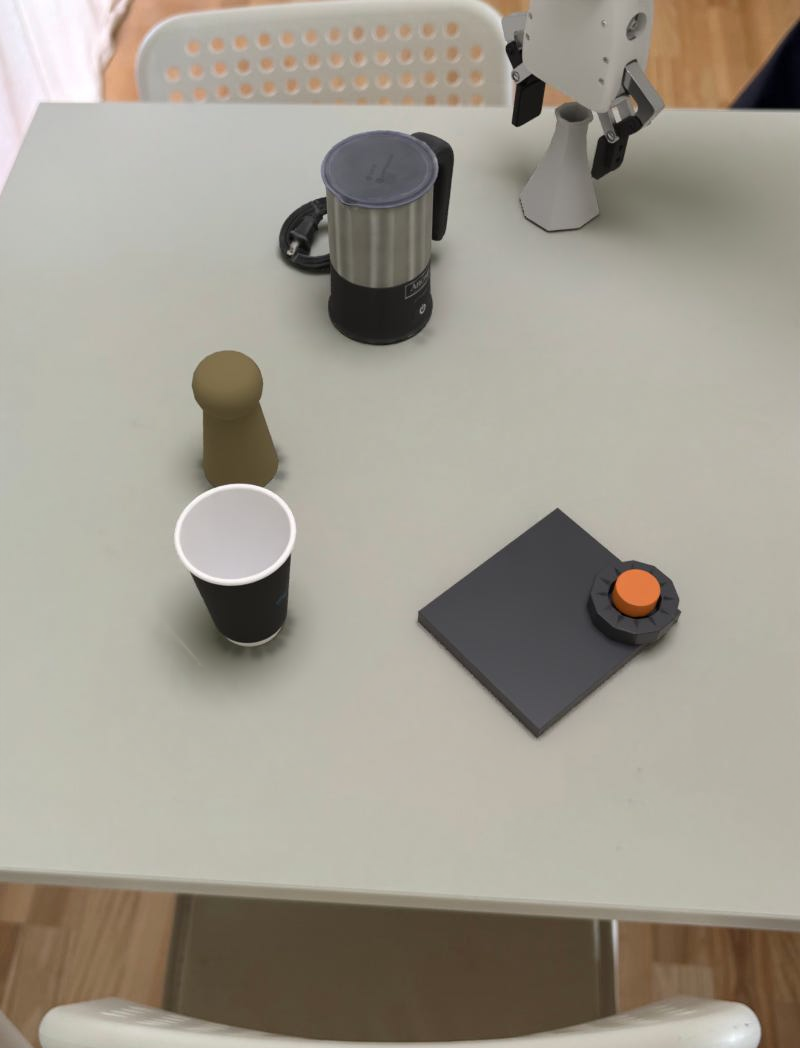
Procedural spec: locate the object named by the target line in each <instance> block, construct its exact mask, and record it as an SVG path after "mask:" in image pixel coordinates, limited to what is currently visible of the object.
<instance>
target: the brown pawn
mask: <svg viewBox="0 0 800 1048" xmlns="http://www.w3.org/2000/svg"><path fill="white" fill-rule="evenodd" d="M191 379H192V381H191V390H192V394H193V397H194V400H195V402H196V403H197V405H198V406H199V407H200V409H201V410H202V462H203V464H202V465H203V466H202V467H203V472H204V477H205V478H206V479H207V480H208V482H209V483H210V485H211V486H213V487H214V488H216V487H219V486H223V485H229V484H250V485H255V486H259V487H262V488H264V487H265V486H267V485H268V484H269V483H270V481H272V480H273V479H274V477H275V475H276V473H277V472H278V469H279V456H278V452H277V450H276V447H275V444H274V441H273V438H272V435H271V431H270V429H269V426H268V423H267V420H266V417H265V415H264V411H263V409H262V406H261V402H260V400H261V398H262V395H263V391H264V377H263V374H262V371H261V369H260V367H259V365H258V364H257V363H256V361H255V360H254V359H253V358H251V357H250V356H248V355H247V354H245V353H243V352H241V351H238V350H232V349H231V350H230V349H229V350H228V349H226V350H225V349H224V350H219V351H215V352H213V353H211V354H208V355H206V356H205V357H204V358H203V359H202V360H201V361H200V362H199V363H198V364H197V366H196V367H195V369H194V371H193V373H192V378H191Z"/></svg>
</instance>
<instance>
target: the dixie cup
mask: <svg viewBox="0 0 800 1048" xmlns="http://www.w3.org/2000/svg"><path fill="white" fill-rule="evenodd" d="M174 528H175V529H174V531H173V532H174V534H173V545H174V549H175V553H176V555H177V557H178V559H179V561H180V562H181V564H182V565H183V566H184V567H185V569H186V570H188V571H189V573H190V575H191V578H192V580H193V582H194V584H195V586H196V588H197V590H198V592H199V594H200V596H201V598H202V600H203V603H204V605H205V607H206V609H207V611H208V613H209V616H210V618H211V620H212V622H213V624H214V626H215V627H216V629H217V630H218V632H219V633H220V634H221V635H222V636H224V637H225V638H226V639H227V640H228V641H230V642H231V643H233V644H235V645H238V646H242V647H256V646H260V645H263V644H266V643H267V642H269V641H271V640H272V639H274V638H275V637H276V636H277V635H278V633H280V631H281V629H282V627H283V625H284V623H285V621H286V619H287V616H288V608H289V607H288V606H289V593H290V592H289V591H290V577H291V564H292V563H291V561H292V552H293V549H294V547H295V544H296V541H297V523H296V518H295V516H294V514H293V512H292V510H291V507H290V506H288V504H287V502H286V501H285V500H283V499H282V498H281V497H280V496H279V495H278V494H276V493H275V492H273V491H271V490H270V489H267V488H265V487H259V486H255V485H250V484H229V485H223V486H219V487H213V488H211V489H207V490H206V491H205V492H202V493H201V494H200V495H198V496H196V497H195V498H193V499H192V501H190V502H189V503H188V504H187V505H186V507H184V509H183V510H182V512H181V514H180V515H179V517H178V518H177V521H176V524H175V527H174Z"/></svg>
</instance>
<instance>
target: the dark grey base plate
mask: <svg viewBox="0 0 800 1048" xmlns="http://www.w3.org/2000/svg"><path fill="white" fill-rule="evenodd" d="M633 569H638V570H643V571H646V572H648V573H650V574H651V575H653V576H654V577H655V578H656V580H657V581H658V583H659V585H660V596H659V598H658V601H657V603H656V606H655V608H654V609H653V611H652V612H651V613H649V614H647V615H645V616H642V617H631V616H628V615H625V614H623V613H622V612H620V611H619V610H618V609H617V608H616V606H615V605H614V603H613V600H612V593H613V590H614V587H615V584H616V581H617V579H618V577H619V576H620V575H621V574H622V573H624V572H626V571H628V570H633ZM679 605H680V596H679V593H678V592H677V589H676V587H675V584H674V582H673V580H672V579H671V578H670V577H668V576H667V575H666V574H665V573H664V572H663V571H661V570H660V569H659V568H657V566H656V565H652V564H648V563H645V562H642V561H638V560H635V559H632V560H625V561H622V560H621V559H620V558H618V557H617V556H616V555H615V554H614V553H612V552H611V551H610V550H609V549H608V548H607V547H606V546H604V545H603V544H602V543H601V542H599V541H598V540H597V539H596V538H594V537H593V535H591V534H590V533H589V532H588V531H586V530H585V529H584V528H583V527H582V526H580V525H579V524H578V523H577V522H576V521H574V520H573V518H571V517H569V516H568V514H567V513H565V512H564V511H563V510H561V509H560V508H559V507H556V508H555V509H553V510H552V511H550V512H549V513H548V514H547V515H545V516H544V517H542V519H540V520H539V521H537V522H536V523H534V524H533V525H532V526H531V527H529V528H528V529H527V530H525V531H524V532H522V533H521V534H520V535H519V536H517V537H516V538H514V539H513V540H512V541H511V542H509V543H508V544H506V545H505V546H504V547H503V548H501V549H500V550H498V551H497V552H496V553H494V554H493V555H492V556H490V557H489V558H487V560H485V561H483V562H482V563H481V564H480V565H479V566H477V567H475V569H473V570H472V571H470V572H469V573H468V574H466V575H465V576H463V577H462V578H461V579H459V580H458V581H457V582H455V583H454V584H453V585H451V586H450V587H449V588H448V589H446V590H445V591H443V592H442V593H441V594H439V595H438V596H437V597H435V598H434V599H433V600H432V601H430V602H429V603H427V604H426V605H424V606H423V607H422V608H421V609H420V610H418V611H417V622H418V623H419V624H420V625H421V626H422V627H423V628H424V629H425V630H426V631H427V632H428V633H429V634H430V635H431V636H432V637H433V638H434V639H435V640H437V642H438V643H440V644H441V645H442V647H444V648H445V649H446V651H448V652H449V654H451V655H452V656H453V657H454V658H455V659H456V660H457V661H458V662H459V663H460V664H461V665H462V666H463V667H464V668H465V669H466V670H467V671H468V672H469V673H470V674H471V676H473V677H474V678H475V679H477V681H478V682H479V683H480V684H482V686H483V687H484V688H485V689H487V691H488V692H489V693H491V695H492V696H493V697H494V698H495V699H496V700H497V701H499V703H501V704H502V705H503V706H504V708H506V710H507V711H508V712H510V713H511V714H512V715H513V716H514V717H515V718H516V719H517V720H518V722H520V723H521V724H522V725H523V726H524V727H525V728H526V729H527V730H528V731H529V732H530V733H531V734H532V735H533V736H534V737H535V738H536V739H538V738H540V736H542V735H543V734H545V732H547V731H548V730H549V729H550V728H551V727H553V726H554V725H555V724H556V723H558V721H560V720H561V719H562V718H563V717H564V716H566V715H567V714H569V712H571V711H572V710H573V709H575V707H577V706H578V705H579V704H580V703H581V702H582V701H584V700H585V699H586V698H587V697H588V696H590V695H591V694H592V693H593V692H594V691H596V690H597V689H598V688H599V687H601V686H602V685H603V684H604V683H605V682H607V681H608V680H609V679H610V678H611V677H612V676H614V675H615V674H616V673H617V672H619V671H620V670H621V669H622V668H623V667H625V666H626V665H627V664H628V663H629V662H631V660H633V659H634V658H635V657H637V656H638V655H639V654H640V653H642V651H644V650H645V649H647V647H649V646H650V645H651V644H652V643H655V642H657V641H658V640H659V639H661V638H662V637H663V636H664V635H666V634H667V633H668V632H669V631H670V630H671V629H672V627H673V626H674V625H675V624H676V623H678V620H679V618H680V616H681V614H682V611H681V610H680V609H679Z"/></svg>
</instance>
